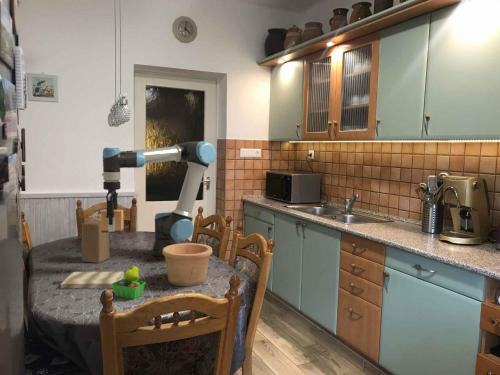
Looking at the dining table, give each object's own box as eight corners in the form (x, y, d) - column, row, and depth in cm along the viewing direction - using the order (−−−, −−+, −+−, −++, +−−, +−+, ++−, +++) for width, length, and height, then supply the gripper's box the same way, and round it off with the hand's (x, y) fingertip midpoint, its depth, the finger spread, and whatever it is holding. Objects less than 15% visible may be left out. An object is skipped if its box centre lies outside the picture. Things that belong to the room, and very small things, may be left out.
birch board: (123, 275, 182) (123, 271, 182) (115, 288, 166) (115, 283, 166) (73, 276, 179) (73, 271, 179) (60, 288, 163) (60, 283, 163)
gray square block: (68, 281, 173) (68, 278, 173) (64, 285, 169) (64, 281, 169) (59, 281, 173) (58, 278, 173) (54, 284, 169) (54, 281, 169)
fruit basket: (110, 296, 157) (110, 268, 156) (125, 289, 165) (125, 262, 164) (134, 301, 153) (134, 272, 152) (148, 293, 161) (148, 266, 160)
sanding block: (123, 230, 191) (123, 209, 190) (121, 232, 186) (121, 211, 185) (103, 230, 190) (103, 209, 189) (101, 232, 185) (101, 211, 184)
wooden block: (99, 263, 199) (98, 224, 198) (81, 262, 201) (80, 223, 200) (110, 258, 209) (109, 220, 207) (92, 256, 211) (92, 219, 209)
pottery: (217, 275, 186) (218, 245, 185) (201, 291, 165) (202, 257, 164) (174, 270, 191) (175, 241, 190) (153, 285, 170) (153, 252, 169)
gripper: (107, 179, 194) (108, 226, 196) (98, 182, 176) (99, 234, 178) (123, 179, 195) (124, 226, 197) (116, 182, 177) (116, 234, 179)
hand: (112, 229), depth 188 cm, fingers closed on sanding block, 5 cm apart
